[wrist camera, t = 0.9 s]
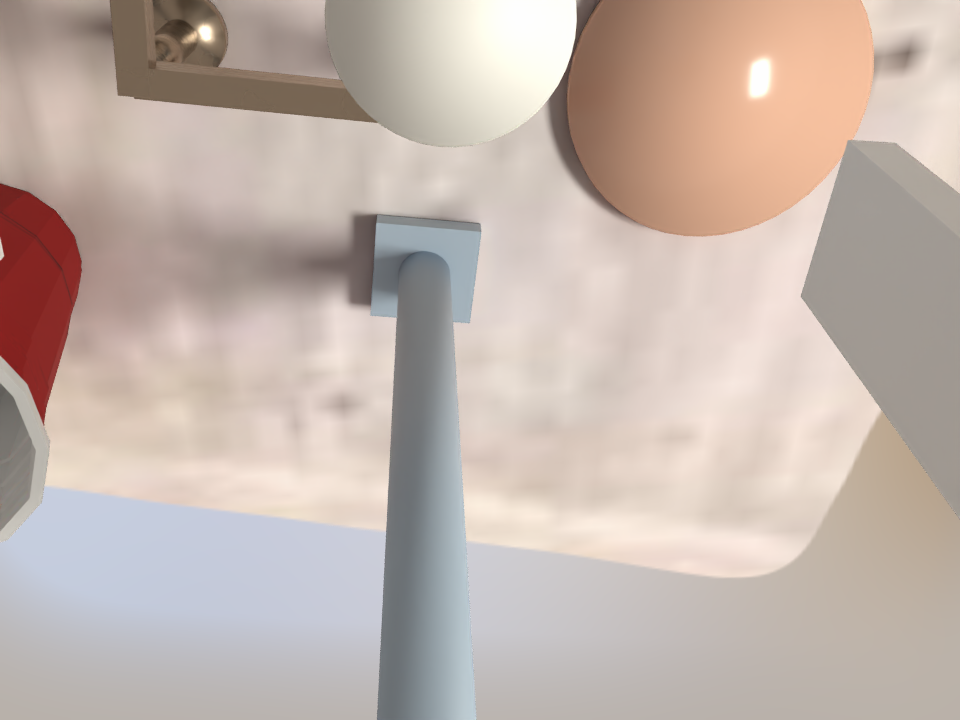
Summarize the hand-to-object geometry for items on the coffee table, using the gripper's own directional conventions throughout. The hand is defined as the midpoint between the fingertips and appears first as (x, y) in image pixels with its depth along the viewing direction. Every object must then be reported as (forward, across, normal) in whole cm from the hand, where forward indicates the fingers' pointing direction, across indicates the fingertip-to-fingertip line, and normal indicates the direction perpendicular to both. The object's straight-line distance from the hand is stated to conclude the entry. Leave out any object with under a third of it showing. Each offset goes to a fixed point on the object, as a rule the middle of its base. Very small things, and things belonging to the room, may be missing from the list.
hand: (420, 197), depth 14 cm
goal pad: (+20, +11, -3) cm, 23 cm away
